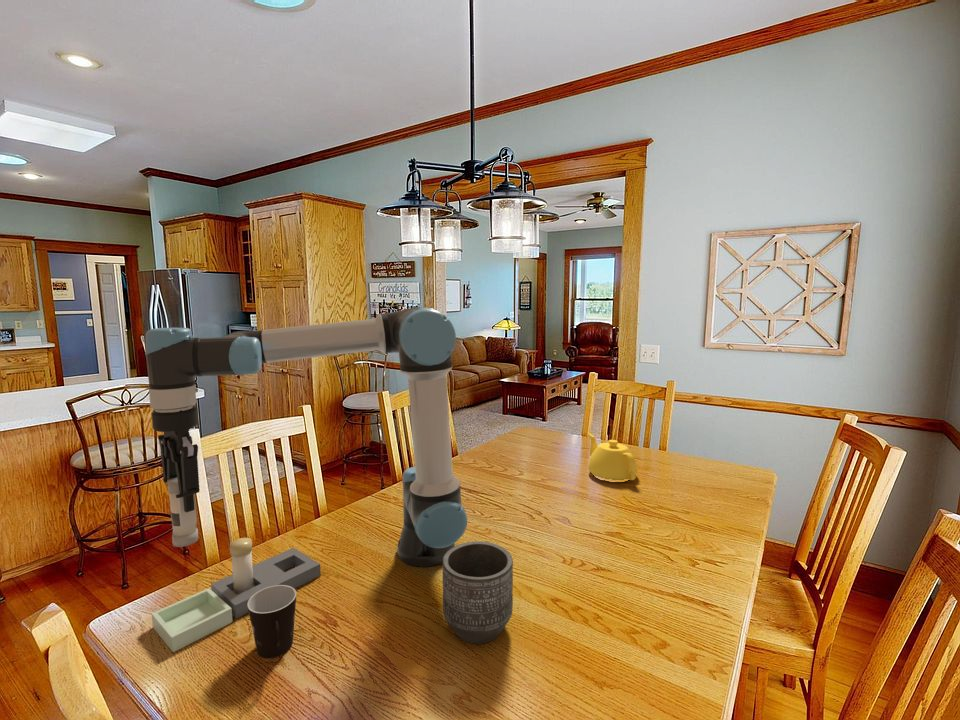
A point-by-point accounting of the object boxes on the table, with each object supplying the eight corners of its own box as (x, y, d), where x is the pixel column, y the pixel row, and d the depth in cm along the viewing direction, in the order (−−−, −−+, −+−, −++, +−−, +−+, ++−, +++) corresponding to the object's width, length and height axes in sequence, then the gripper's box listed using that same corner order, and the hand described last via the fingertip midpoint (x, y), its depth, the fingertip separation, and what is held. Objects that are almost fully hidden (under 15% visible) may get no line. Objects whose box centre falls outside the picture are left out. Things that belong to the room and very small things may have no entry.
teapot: (570, 468, 188) (571, 434, 186) (604, 461, 196) (605, 428, 195) (615, 490, 166) (617, 453, 165) (652, 481, 175) (654, 445, 173)
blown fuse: (202, 540, 96) (197, 478, 95) (177, 549, 93) (172, 485, 91) (193, 533, 99) (188, 473, 97) (169, 541, 96) (163, 479, 94)
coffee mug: (260, 631, 96) (257, 586, 95) (304, 629, 97) (301, 583, 96) (236, 677, 85) (232, 626, 83) (286, 674, 86) (283, 623, 84)
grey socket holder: (320, 575, 116) (318, 524, 114) (236, 618, 100) (232, 560, 99) (294, 558, 123) (291, 510, 121) (211, 596, 108) (207, 542, 106)
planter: (457, 661, 89) (457, 587, 87) (433, 614, 101) (433, 549, 100) (524, 639, 94) (526, 569, 92) (494, 598, 107) (494, 535, 105)
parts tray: (232, 622, 99) (231, 608, 99) (173, 652, 91) (171, 637, 90) (210, 600, 106) (209, 587, 106) (152, 627, 98) (151, 613, 97)
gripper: (214, 411, 90) (222, 528, 93) (179, 398, 100) (187, 504, 104) (168, 418, 84) (179, 543, 87) (137, 404, 95) (147, 516, 98)
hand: (184, 521), depth 95 cm, fingers closed on blown fuse, 4 cm apart
